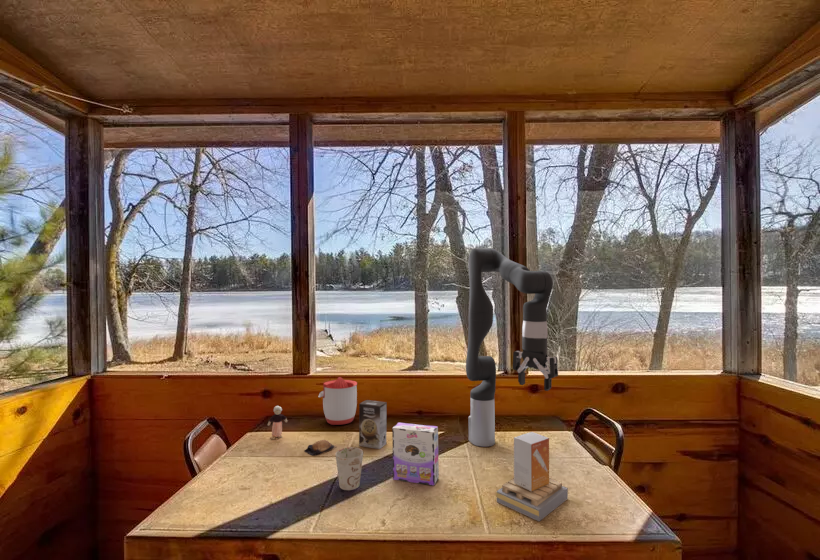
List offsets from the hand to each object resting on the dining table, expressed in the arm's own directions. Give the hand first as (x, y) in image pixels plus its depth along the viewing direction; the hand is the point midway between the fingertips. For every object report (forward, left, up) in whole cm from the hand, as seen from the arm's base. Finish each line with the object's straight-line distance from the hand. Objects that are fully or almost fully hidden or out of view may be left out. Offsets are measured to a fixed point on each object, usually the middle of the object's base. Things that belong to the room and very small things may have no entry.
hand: (534, 387), depth 124 cm
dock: (+5, -10, -29) cm, 31 cm away
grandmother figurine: (-91, -41, -29) cm, 104 cm away
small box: (+5, -10, -25) cm, 27 cm away
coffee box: (-58, -18, -29) cm, 68 cm away
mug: (-40, -42, -29) cm, 65 cm away
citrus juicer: (-90, -13, -29) cm, 96 cm away
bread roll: (-68, -35, -30) cm, 83 cm away
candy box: (-27, -25, -29) cm, 47 cm away
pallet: (+5, -10, -26) cm, 29 cm away
